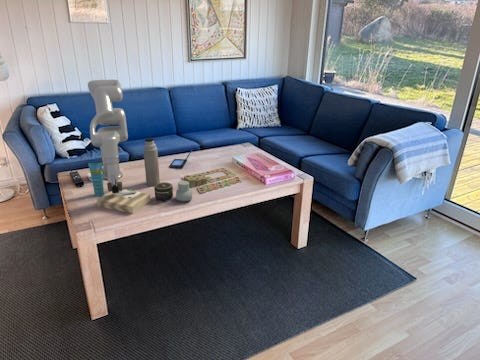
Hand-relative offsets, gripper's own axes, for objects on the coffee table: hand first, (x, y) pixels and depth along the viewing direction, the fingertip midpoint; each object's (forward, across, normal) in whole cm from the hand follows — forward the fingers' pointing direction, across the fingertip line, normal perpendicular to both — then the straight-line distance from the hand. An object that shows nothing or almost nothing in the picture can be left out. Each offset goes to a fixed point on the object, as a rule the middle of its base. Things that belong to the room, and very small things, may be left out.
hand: (115, 191), depth 198 cm
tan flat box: (+6, +3, +4) cm, 8 cm away
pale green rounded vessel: (+7, +6, +36) cm, 37 cm away
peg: (+2, 0, +3) cm, 4 cm away
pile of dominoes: (+7, -16, +57) cm, 60 cm away
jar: (+7, +2, +25) cm, 26 cm away
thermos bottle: (+7, -20, +21) cm, 30 cm away
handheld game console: (+7, -49, +42) cm, 65 cm away
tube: (+7, -12, -9) cm, 17 cm away
